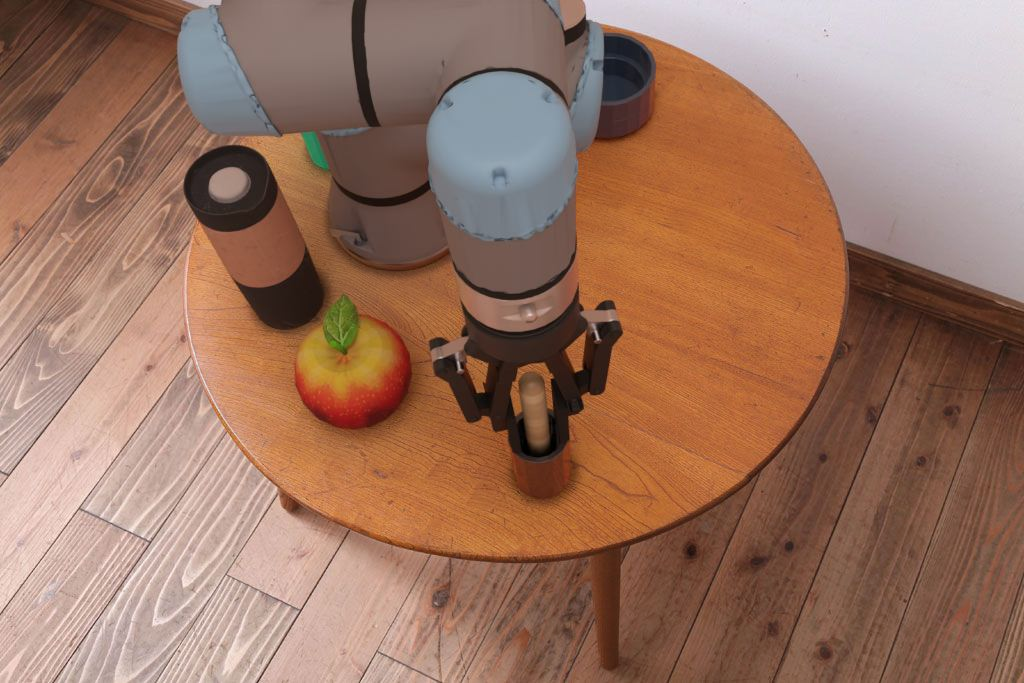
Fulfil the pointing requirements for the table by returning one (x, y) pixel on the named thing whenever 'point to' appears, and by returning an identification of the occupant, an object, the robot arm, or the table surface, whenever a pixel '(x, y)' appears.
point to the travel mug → (254, 234)
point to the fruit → (352, 368)
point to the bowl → (625, 85)
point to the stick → (535, 414)
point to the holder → (541, 464)
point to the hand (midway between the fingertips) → (537, 431)
